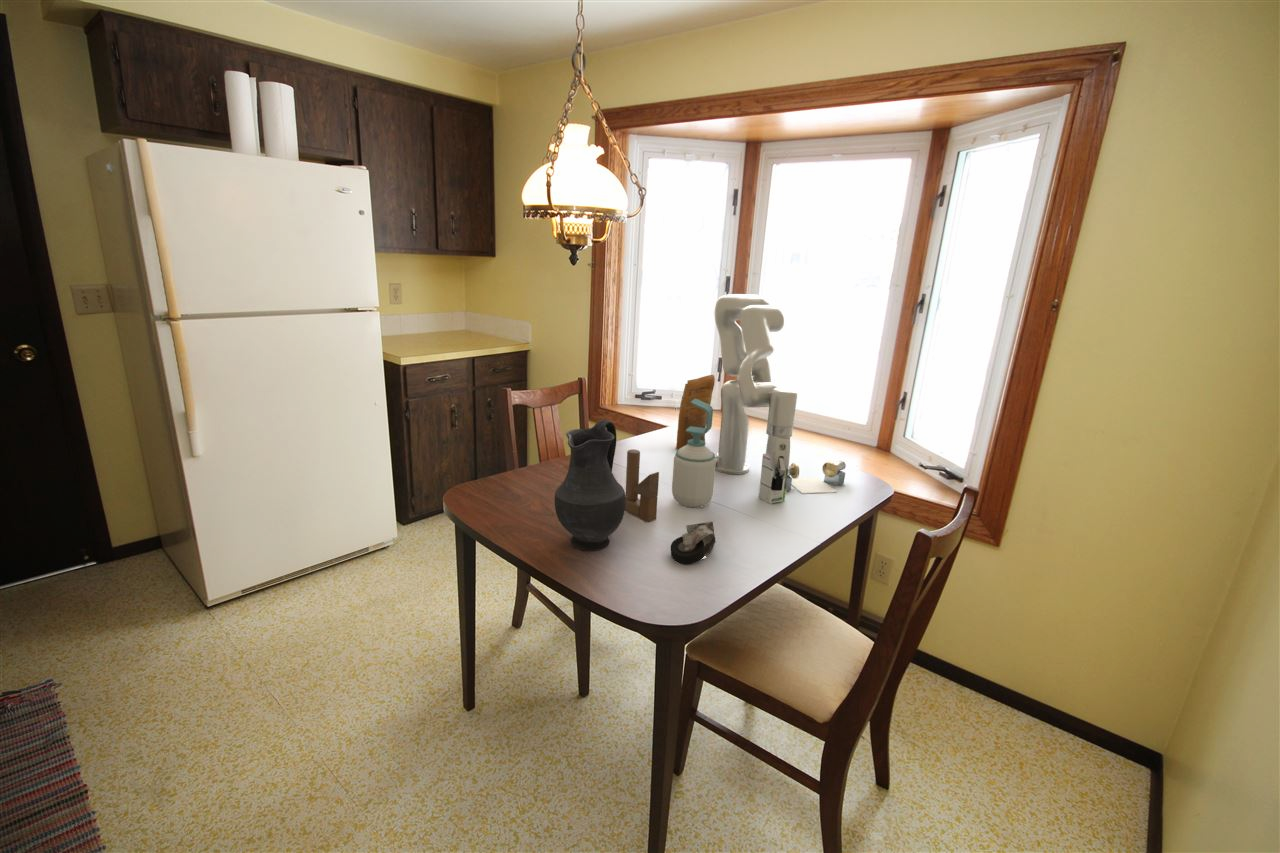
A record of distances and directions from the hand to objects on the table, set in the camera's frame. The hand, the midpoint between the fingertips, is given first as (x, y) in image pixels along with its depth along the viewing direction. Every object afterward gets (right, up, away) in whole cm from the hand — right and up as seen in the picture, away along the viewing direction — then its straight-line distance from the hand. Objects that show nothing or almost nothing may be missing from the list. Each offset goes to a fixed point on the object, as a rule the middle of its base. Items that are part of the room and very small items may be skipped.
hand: (772, 484), depth 169 cm
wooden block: (-41, -7, -13) cm, 44 cm away
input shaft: (+5, -2, +11) cm, 13 cm away
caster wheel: (-28, -14, -34) cm, 46 cm away
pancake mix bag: (-20, +10, +48) cm, 53 cm away
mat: (+15, -2, +13) cm, 21 cm away
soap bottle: (-25, -5, -3) cm, 26 cm away
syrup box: (0, -5, +1) cm, 5 cm away
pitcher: (-53, -11, -28) cm, 61 cm away
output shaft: (+25, -1, +17) cm, 30 cm away
